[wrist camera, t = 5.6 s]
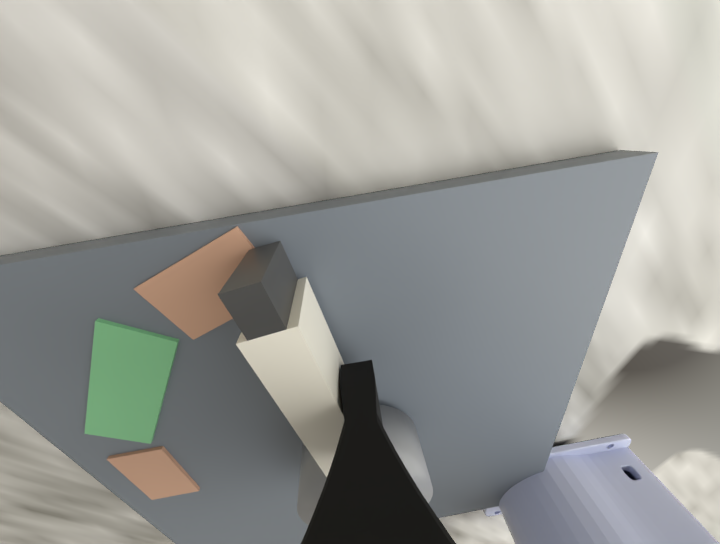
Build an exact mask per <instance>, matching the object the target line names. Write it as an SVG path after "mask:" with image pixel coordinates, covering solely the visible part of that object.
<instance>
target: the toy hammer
mask: <svg viewBox="0 0 720 544" xmlns="http://www.w3.org/2000/svg"><path fill="white" fill-rule="evenodd" d="M218 296H219V298H220V299H221V301H222V302H223V304H224V305H225V307H226V309H227V310H228V312H229V313H230V315H231V316H232V318H233V319H234V321H235V322H236V324H237V326H238V327H239V329H240V330H241V334H240V336H239V338H238V340H237V343H236V345H237V347H238V348H239V350H240V351H241V353H242V354H243V355H244V357H245V358H246V360H247V361H248V363H249V364H250V366H251V367H252V369H253V370H254V372H255V373H256V374H257V376H258V377H259V379H260V380H261V382H262V383H263V385H264V386H265V388H266V389H267V391H268V392H269V394H270V395H271V396H272V398H273V399H274V401H275V402H276V404H277V405H278V407H279V408H280V410H281V411H282V413H283V414H284V415H285V417H286V418H287V420H288V421H289V423H290V424H291V426H292V427H293V429H294V430H295V432H296V433H297V435H298V436H299V437H300V439H301V440H302V442H303V446H302V457H301V468H300V479H299V491H298V502H297V513H298V515H299V517H300V518H301V520H302V521H303V522H305V523H306V524H307V525H309V523H310V521H311V518H312V516H313V513H314V511H315V508H316V505H317V503H318V500H319V498H320V495H321V493H322V490H323V487H324V484H325V482H326V479H327V476H328V473H329V470H330V467H331V464H332V461H333V458H334V455H335V452H336V449H337V445H338V442H339V438H340V434H341V431H342V427H343V424H344V413H343V405H342V396H341V388H340V368H341V365H344V362H343V360H342V357H341V355H340V353H339V350H338V348H337V346H336V344H335V341H334V339H333V337H332V334H331V332H330V330H329V327H328V325H327V323H326V320H325V318H324V316H323V313H322V311H321V309H320V307H319V304H318V302H317V300H316V297H315V295H314V293H313V290H312V288H311V286H310V283H309V281H308V279H307V277H304V278H300V279H297V276H296V274H295V272H294V270H293V268H292V265H291V263H290V261H289V259H288V257H287V254H286V252H285V250H284V248H283V246H282V243H281V241H277V242H274V243H271V244H267V245H264V246H261V247H257V248H254V249H251V250H249V251H248V252H247V253H246V255H245V256H244V258H243V259H242V260H241V262H240V263H239V265H238V266H237V268H236V269H235V270H234V272H233V273H232V275H231V276H230V278H229V279H228V280H227V282H226V283H225V285H224V286H223V287H222V289H221V290H220V292H219V293H218ZM380 411H381V417H382V423H383V427H384V429H385V431H386V433H387V435H388V437H389V439H390V441H391V442H392V444H393V446H394V448H395V450H396V452H397V453H398V455H399V457H400V459H401V460H402V462H403V464H404V465H405V467H406V469H407V470H408V472H409V474H410V475H411V477H412V479H413V480H414V482H415V483H416V485H417V487H418V488H419V490H420V491H421V493H422V495H423V496H424V498H425V499H426V501H427V502H428V504H429V502H430V500H431V498H432V496H433V487H432V483H431V480H430V476H429V473H428V469H427V466H426V462H425V459H424V456H423V452H422V449H421V445H420V442H419V438H418V435H417V431H416V428H415V425H414V423H413V421H412V420H411V418H410V417H409V416H408V415H406V414H405V413H404V412H402V411H400V410H398V409H396V408H393V407H390V406H385V405H380Z"/></svg>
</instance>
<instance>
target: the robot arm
mask: <svg viewBox="0 0 720 544" xmlns="http://www.w3.org/2000/svg"><path fill="white" fill-rule="evenodd" d="M340 388H341V396H342V405H343V413H344V424H343V427H342V431H341V434H340V438H339V442H338V445H337V449H336V452H335V455H334V458H333V461H332V464H331V467H330V470H329V473H328V476H327V479H326V482H325V484H324V487H323V490H322V493H321V495H320V498H319V500H318V503H317V505H316V508H315V511H314V513H313V516H312V518H311V521H310V523H309V526H308V528H307V530H306V533H305V535H304V538H303V540H302V542H301V544H456V543H455V542H454V540H453V539H452V538H451V536H450V535H449V533H448V532H447V530H446V529H445V527H444V526H443V524H442V523H441V521H440V520H439V518H438V517H437V515H436V514H435V513H434V511H433V510H432V508H431V507H430V505H429V504H428V502H427V501H426V499H425V498H424V496H423V495H422V493H421V491H420V490H419V488H418V487H417V485H416V483H415V482H414V480H413V479H412V477H411V475H410V474H409V472H408V470H407V469H406V467H405V465H404V464H403V462H402V460H401V459H400V457H399V455H398V453H397V452H396V450H395V448H394V446H393V444H392V442H391V441H390V439H389V437H388V435H387V433H386V431H385V429H384V427H383V423H382V417H381V411H380V405H379V399H378V393H377V387H376V380H375V374H374V369H373V363H372V360H367V361H361V362H356V363H350V364H344V365H341V368H340ZM630 443H631V439H630V438H629V437H628V436H627V435H626V434H618V435H613V436H608V437H602V438H597V439H592V440H587V441H581V442H576V443H571V444H566V445H561V446H555V447H552V450H551V452H550V455H549V458H548V461H547V464H546V466H545V469H544V471H543V472H540V473H537V474H535V475H532V476H530V477H528V478H526V479H524V480H522V481H520V482H519V483H517V484H516V485H514V486H513V487H511V488H510V489H509V490H508V491H507V492H506V493H505V494H504V495H503V496H502V498H501V500H500V502H499V506H497V507H492V508H487V509H483V511H484V513H485V515H486V516H494V515H499V514H502V515H503V517H504V519H505V522H506V524H507V526H508V528H509V530H510V533H511V535H512V537H513V539H514V542H515V544H720V543H719V542H718V541H717V540H716V539H715V538H714V537H713V536H712V535H711V534H710V533H709V532H708V531H707V530H706V529H705V528H704V527H703V526H702V525H701V523H700V522H699V521H698V520H697V519H696V518H695V517H694V516H693V515H692V514H691V513H690V512H689V511H688V510H687V509H686V508H685V507H684V506H683V504H682V503H681V502H680V501H679V500H678V499H677V498H676V497H675V496H674V495H673V494H672V493H671V492H670V491H669V490H668V489H667V488H666V487H665V486H664V484H663V483H662V482H661V481H660V480H659V479H658V478H657V477H656V476H655V475H654V474H653V473H652V472H651V471H650V470H649V469H648V468H647V467H646V466H645V464H643V462H642V461H641V460H640V459H639V458H638V457H637V456H636V455H635V454H634V453H633V452H632V451H631V450H630V449H629V448H628V446H629V445H630Z"/></svg>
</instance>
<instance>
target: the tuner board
mask: <svg viewBox="0 0 720 544" xmlns="http://www.w3.org/2000/svg"><path fill="white" fill-rule="evenodd" d="M657 155H658V152H642V151H625V150H619V151H613V152H607V153H601V154H596V155H590V156H584V157H578V158H572V159H566V160H560V161H554V162H549V163H543V164H537V165H531V166H525V167H519V168H513V169H507V170H502V171H496V172H490V173H484V174H478V175H472V176H466V177H460V178H455V179H449V180H443V181H437V182H431V183H425V184H419V185H413V186H408V187H402V188H396V189H390V190H384V191H378V192H372V193H366V194H361V195H355V196H349V197H343V198H337V199H331V200H325V201H319V202H314V203H308V204H302V205H296V206H290V207H284V208H278V209H272V210H267V211H261V212H255V213H249V214H243V215H237V216H231V217H225V218H220V219H214V220H208V221H202V222H196V223H190V224H184V225H178V226H173V227H167V228H161V229H155V230H149V231H143V232H137V233H131V234H126V235H120V236H114V237H108V238H102V239H96V240H90V241H84V242H79V243H73V244H67V245H61V246H55V247H49V248H43V249H37V250H32V251H26V252H20V253H14V254H8V255H2V256H0V402H2V403H3V404H4V405H5V406H6V407H8V408H9V409H10V410H11V411H13V412H14V413H15V414H16V415H18V416H19V417H20V418H21V419H23V420H24V421H25V422H26V423H27V424H29V425H30V426H31V427H32V428H34V429H35V430H36V431H37V432H39V433H40V434H41V435H42V436H43V437H45V438H46V439H47V440H48V441H50V442H51V443H52V444H53V445H55V446H56V447H57V448H58V449H59V450H61V451H62V452H63V453H64V454H66V455H67V456H68V457H69V458H71V459H72V460H73V461H74V462H76V463H77V464H78V465H79V466H80V467H82V468H83V469H84V470H85V471H87V472H88V473H89V474H90V475H92V476H93V477H94V478H95V479H96V480H98V481H99V482H100V483H101V484H103V485H104V486H105V487H106V488H108V489H109V490H110V491H111V492H112V493H114V494H115V495H116V496H117V497H119V498H120V499H121V500H122V501H124V502H125V503H126V504H127V505H129V506H130V507H131V508H132V509H133V510H135V511H136V512H137V513H138V514H140V515H141V516H142V517H143V518H145V519H146V520H147V521H148V522H149V523H151V524H152V525H153V526H154V527H156V528H157V529H158V530H159V531H161V532H162V533H163V534H164V535H165V536H167V537H168V538H169V539H170V540H172V541H173V542H174V543H175V544H301V542H302V540H303V538H304V535H305V533H306V530H307V528H308V526H309V525H307V524H306V523H305V522H303V521H302V520H301V518H300V517H299V515H298V513H297V502H298V491H299V479H300V468H301V457H302V446H303V442H302V440H301V439H300V437H299V436H298V435H297V433H296V432H295V430H294V429H293V427H292V426H291V424H290V423H289V421H288V420H287V418H286V417H285V415H284V414H283V413H282V411H281V410H280V408H279V407H278V405H277V404H276V402H275V401H274V399H273V398H272V396H271V395H270V394H269V392H268V391H267V389H266V388H265V386H264V385H263V383H262V382H261V380H260V379H259V377H258V376H257V374H256V373H255V372H254V370H253V369H252V367H251V366H250V364H249V363H248V361H247V360H246V358H245V357H244V355H243V354H242V353H241V351H240V350H239V348H238V347H237V345H236V343H237V340H238V338H239V336H240V334H241V330H240V329H239V327H238V326H237V324H236V322H235V321H234V319H233V318H232V316H231V315H230V313H229V312H228V310H227V309H226V307H225V305H224V304H223V302H222V301H221V299H220V298H219V296H218V293H219V292H220V290H221V289H222V287H223V286H224V285H225V283H226V282H227V280H228V279H229V278H230V276H231V275H232V273H233V272H234V270H235V269H236V268H237V266H238V265H239V263H240V262H241V260H242V259H243V258H244V256H245V255H246V253H247V252H248V251H249V250H251V249H254V248H257V247H261V246H264V245H267V244H271V243H274V242H277V241H281V243H282V246H283V248H284V250H285V252H286V254H287V257H288V259H289V261H290V263H291V265H292V268H293V270H294V272H295V274H296V276H297V279H300V278H304V277H307V279H308V281H309V283H310V286H311V288H312V290H313V293H314V295H315V297H316V300H317V302H318V304H319V307H320V309H321V311H322V313H323V316H324V318H325V320H326V323H327V325H328V327H329V330H330V332H331V334H332V337H333V339H334V341H335V344H336V346H337V348H338V350H339V353H340V355H341V357H342V360H343V362H344V364H350V363H356V362H361V361H367V360H372V363H373V369H374V374H375V380H376V387H377V393H378V399H379V405H385V406H390V407H393V408H396V409H398V410H400V411H402V412H404V413H405V414H406V415H408V416H409V417H410V418H411V420H412V421H413V423H414V425H415V428H416V431H417V435H418V438H419V442H420V445H421V449H422V452H423V456H424V459H425V462H426V466H427V469H428V473H429V476H430V480H431V483H432V487H433V496H432V498H431V500H430V502H429V505H430V507H431V508H432V510H433V511H434V513H435V514H436V515H437V517H438V518H440V517H446V516H451V515H456V514H461V513H466V512H471V511H476V510H481V509H487V508H492V507H497V506H499V502H500V500H501V498H502V496H503V495H504V494H505V493H506V492H507V491H508V490H509V489H510V488H511V487H513V486H514V485H516V484H517V483H519V482H520V481H522V480H524V479H526V478H528V477H530V476H532V475H535V474H537V473H540V472H543V471H544V469H545V466H546V464H547V461H548V458H549V455H550V452H551V450H552V447H553V444H554V441H555V439H556V436H557V433H558V430H559V427H560V425H561V422H562V419H563V416H564V413H565V411H566V408H567V405H568V402H569V400H570V397H571V394H572V391H573V388H574V386H575V383H576V380H577V377H578V374H579V372H580V369H581V366H582V363H583V361H584V358H585V355H586V352H587V349H588V347H589V344H590V341H591V338H592V336H593V333H594V330H595V327H596V324H597V322H598V319H599V316H600V313H601V310H602V308H603V305H604V302H605V299H606V297H607V294H608V291H609V288H610V285H611V283H612V280H613V277H614V274H615V272H616V269H617V266H618V263H619V260H620V258H621V255H622V252H623V249H624V246H625V244H626V241H627V238H628V235H629V233H630V230H631V227H632V224H633V221H634V219H635V216H636V213H637V210H638V207H639V205H640V202H641V199H642V196H643V194H644V191H645V188H646V185H647V182H648V180H649V177H650V174H651V171H652V169H653V166H654V163H655V160H656V157H657Z"/></svg>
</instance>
